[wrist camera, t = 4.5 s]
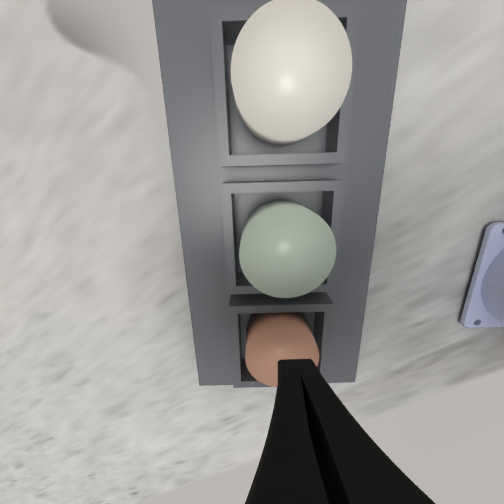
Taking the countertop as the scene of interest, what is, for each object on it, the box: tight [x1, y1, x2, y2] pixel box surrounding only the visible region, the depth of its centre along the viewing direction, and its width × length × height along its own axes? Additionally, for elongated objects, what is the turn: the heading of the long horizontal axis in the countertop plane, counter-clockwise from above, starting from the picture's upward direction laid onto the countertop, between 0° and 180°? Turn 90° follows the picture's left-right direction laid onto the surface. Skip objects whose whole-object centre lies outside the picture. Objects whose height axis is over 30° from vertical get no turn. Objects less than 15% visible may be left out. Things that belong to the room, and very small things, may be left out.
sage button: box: [239, 200, 336, 298], centre depth 12 cm, size 4×4×2 cm
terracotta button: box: [245, 312, 319, 387], centre depth 16 cm, size 4×4×2 cm
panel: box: [152, 0, 407, 388], centre depth 15 cm, size 12×24×4 cm, turn 2°
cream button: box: [231, 0, 352, 145], centre depth 10 cm, size 4×4×2 cm
